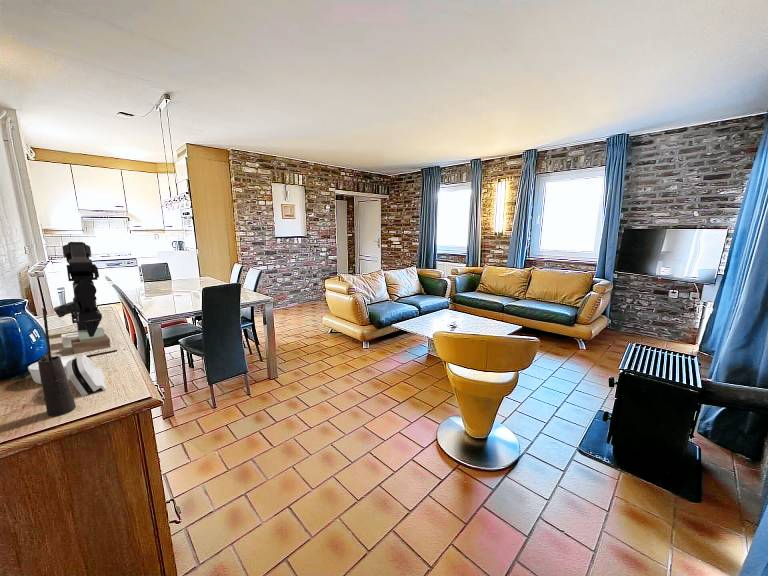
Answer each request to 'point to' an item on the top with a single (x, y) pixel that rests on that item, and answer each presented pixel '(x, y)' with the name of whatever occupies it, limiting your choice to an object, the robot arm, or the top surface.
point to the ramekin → (36, 374)
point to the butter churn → (54, 381)
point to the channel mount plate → (91, 346)
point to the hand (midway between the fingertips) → (89, 334)
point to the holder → (68, 338)
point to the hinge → (85, 375)
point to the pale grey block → (85, 337)
